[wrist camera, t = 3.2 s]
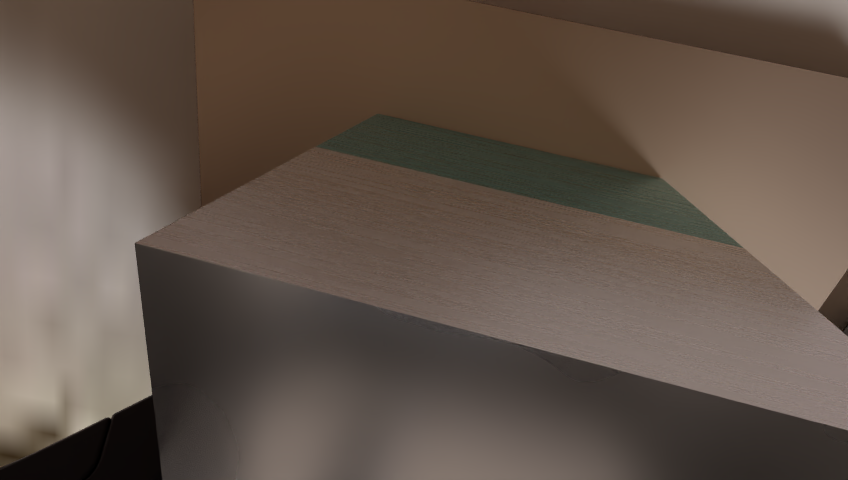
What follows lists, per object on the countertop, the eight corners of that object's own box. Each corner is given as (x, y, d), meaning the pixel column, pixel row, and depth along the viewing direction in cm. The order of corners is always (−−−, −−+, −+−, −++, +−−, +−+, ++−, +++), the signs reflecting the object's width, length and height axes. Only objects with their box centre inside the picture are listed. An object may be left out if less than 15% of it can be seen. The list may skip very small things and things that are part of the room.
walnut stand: (621, 512, 13) (635, 567, 11) (239, 402, 14) (210, 441, 12) (884, 92, 8) (966, 102, 6) (241, -41, 8) (190, -57, 7)
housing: (525, 481, 11) (543, 865, 6) (334, 426, 11) (193, 741, 6) (662, 178, 7) (1007, 472, 2) (377, 113, 8) (134, 243, 3)
